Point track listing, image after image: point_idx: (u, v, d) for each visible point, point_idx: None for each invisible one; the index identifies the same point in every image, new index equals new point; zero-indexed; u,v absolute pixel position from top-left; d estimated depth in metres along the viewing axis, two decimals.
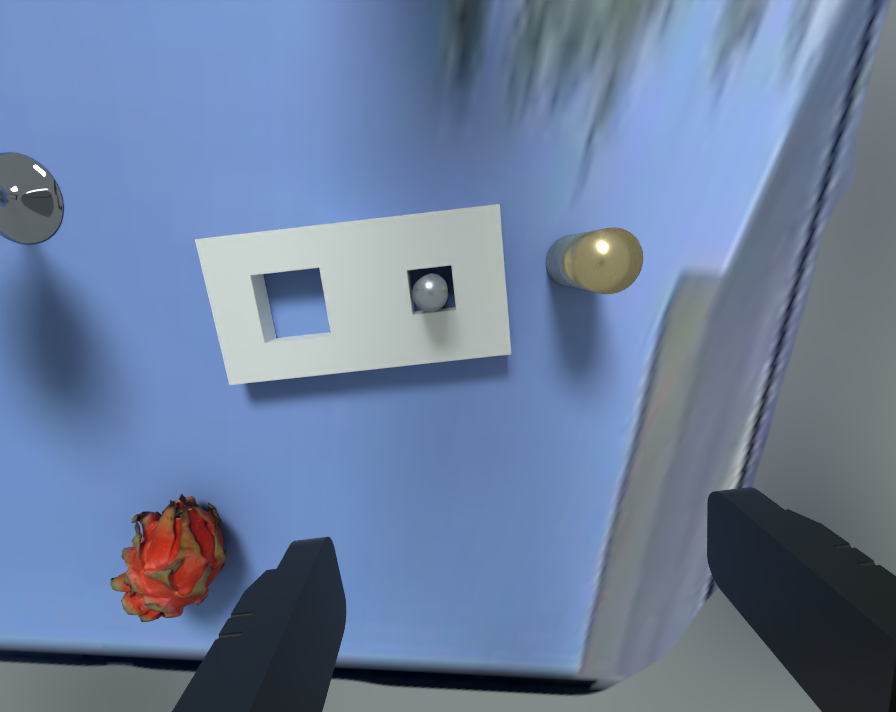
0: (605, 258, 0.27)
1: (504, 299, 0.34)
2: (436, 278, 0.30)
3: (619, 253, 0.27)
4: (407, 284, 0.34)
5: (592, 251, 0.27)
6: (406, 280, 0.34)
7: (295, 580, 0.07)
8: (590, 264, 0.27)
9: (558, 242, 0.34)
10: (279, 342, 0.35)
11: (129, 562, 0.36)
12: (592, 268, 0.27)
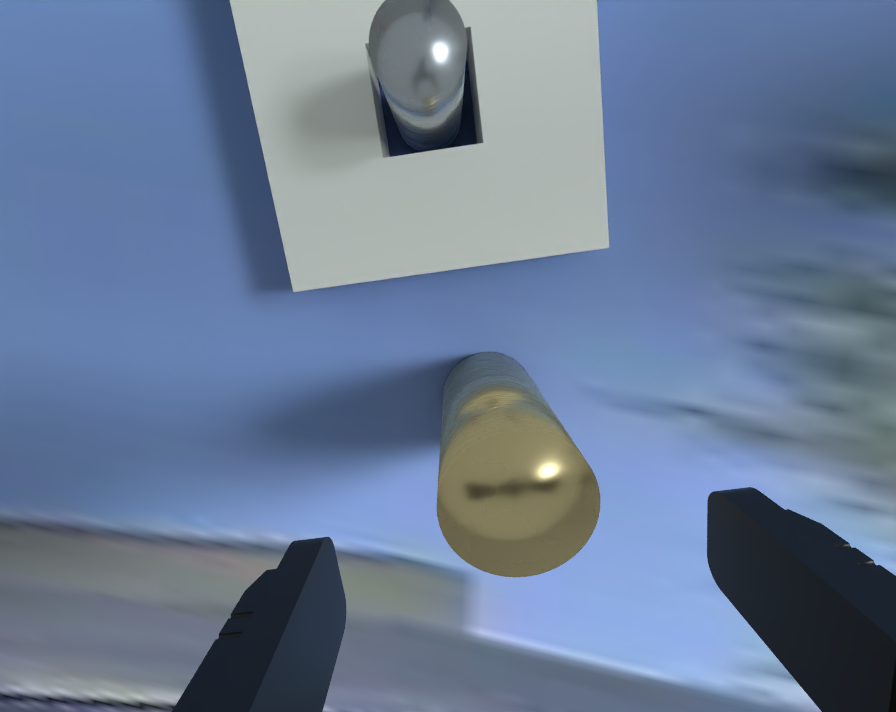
0: (526, 495, 0.11)
1: (411, 269, 0.16)
2: (459, 63, 0.11)
3: (537, 525, 0.11)
4: None
5: (544, 462, 0.11)
6: None
7: (295, 580, 0.07)
8: (511, 461, 0.11)
9: (525, 372, 0.18)
10: None
11: None
12: (500, 467, 0.11)
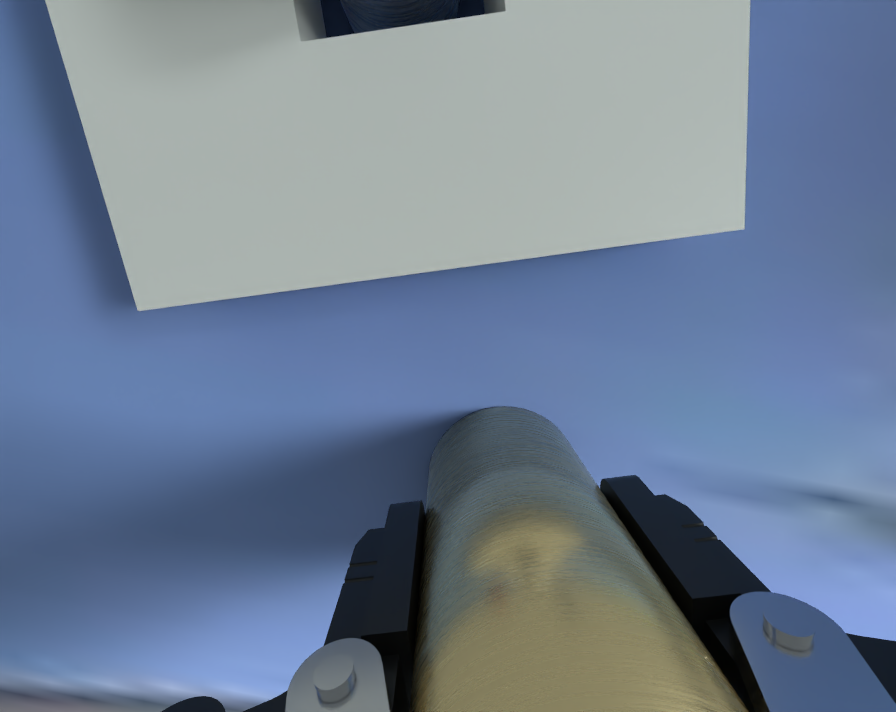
0: None
1: (364, 269, 0.08)
2: None
3: None
4: None
5: None
6: None
7: (406, 534, 0.08)
8: None
9: (571, 449, 0.10)
10: None
11: None
12: None
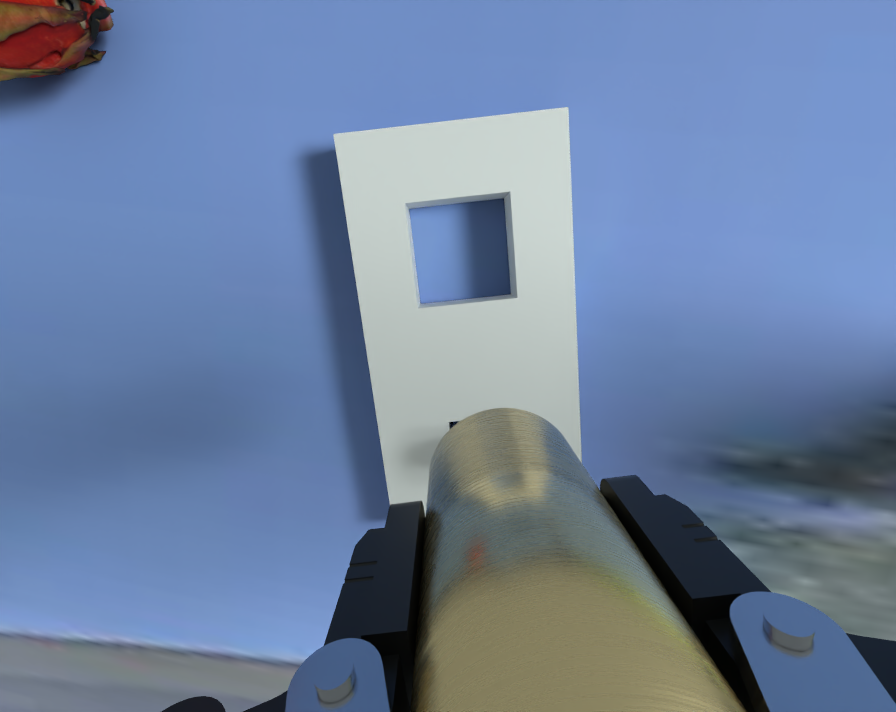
0: None
1: None
2: None
3: None
4: None
5: None
6: None
7: (406, 534, 0.08)
8: None
9: (571, 451, 0.10)
10: (406, 227, 0.23)
11: None
12: None
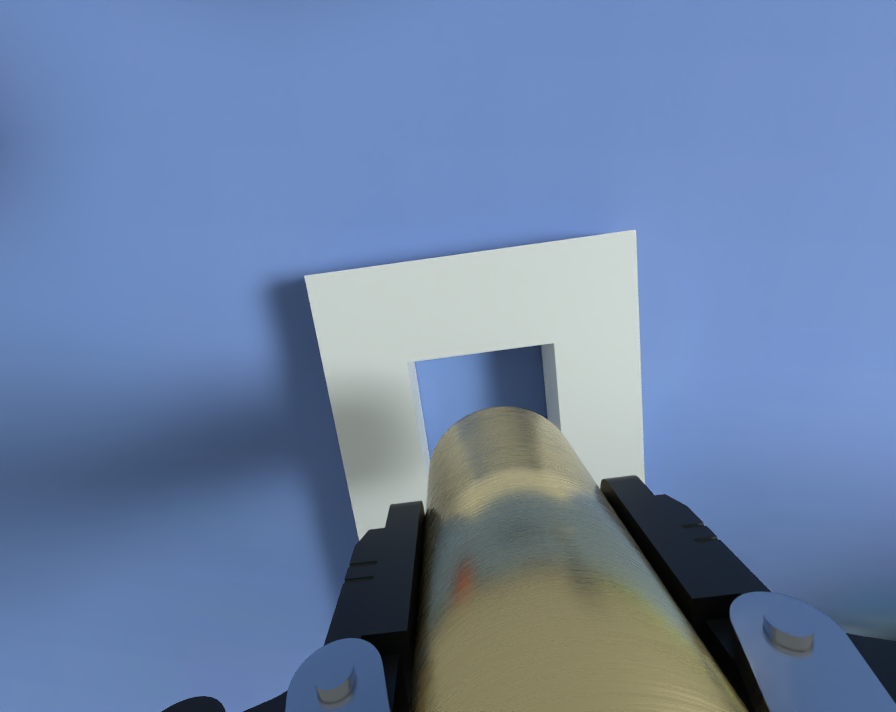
0: None
1: None
2: None
3: None
4: None
5: None
6: None
7: (406, 534, 0.08)
8: None
9: (571, 449, 0.10)
10: (410, 392, 0.16)
11: None
12: None
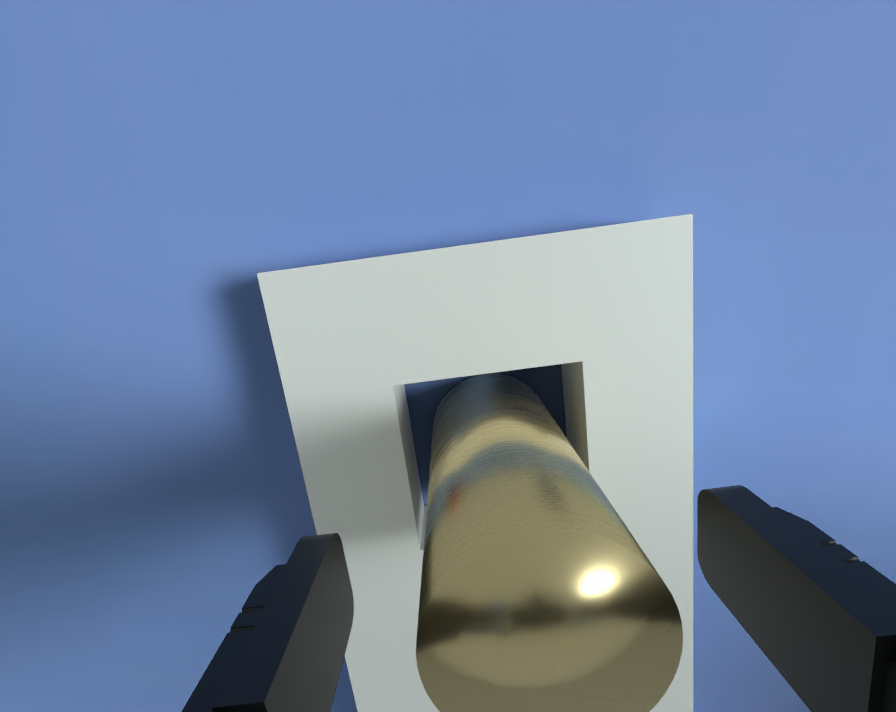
0: (562, 634, 0.07)
1: None
2: None
3: (579, 680, 0.07)
4: None
5: (595, 582, 0.06)
6: None
7: (305, 575, 0.07)
8: (539, 582, 0.06)
9: (540, 402, 0.14)
10: (397, 423, 0.13)
11: None
12: (522, 591, 0.06)
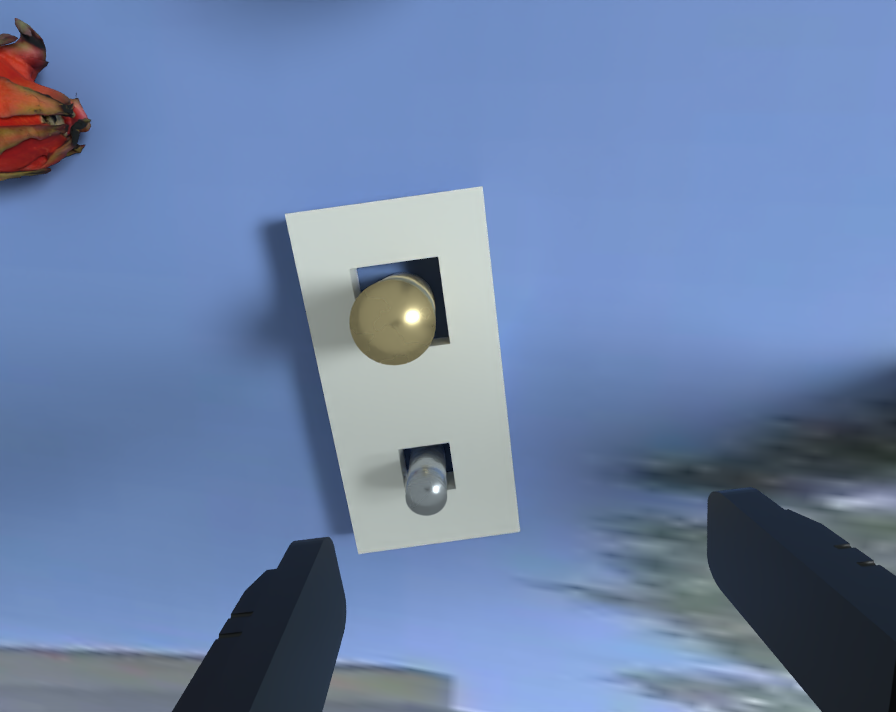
0: (396, 316, 0.20)
1: (420, 543, 0.31)
2: (444, 503, 0.26)
3: (403, 334, 0.21)
4: (433, 443, 0.29)
5: (404, 297, 0.20)
6: (437, 442, 0.29)
7: (295, 580, 0.07)
8: (387, 297, 0.20)
9: (424, 281, 0.27)
10: (351, 288, 0.27)
11: None
12: (382, 300, 0.20)
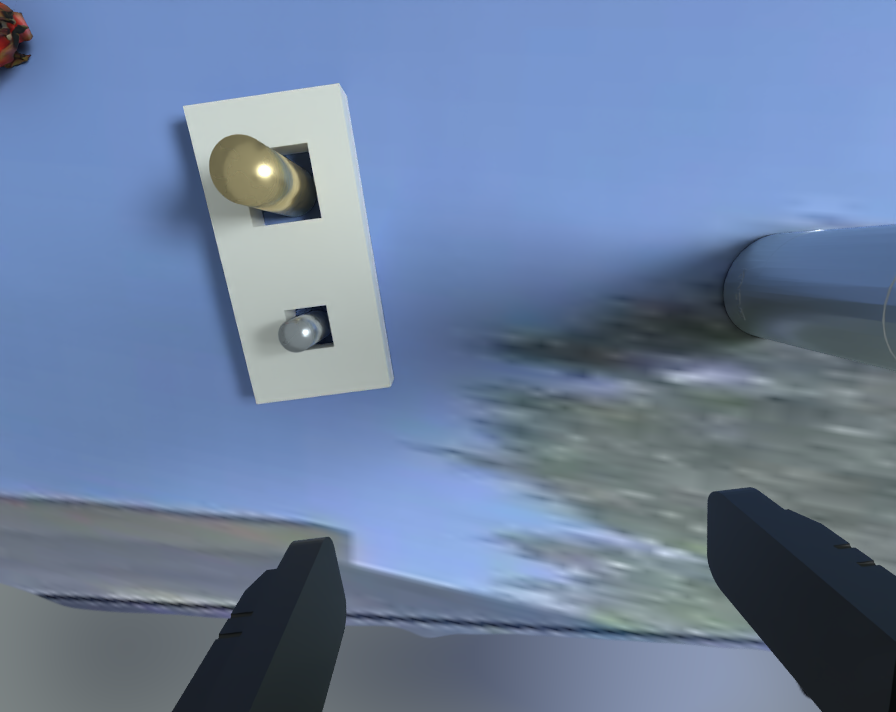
0: (244, 164, 0.27)
1: (307, 395, 0.37)
2: (310, 341, 0.32)
3: (251, 179, 0.27)
4: (312, 305, 0.35)
5: (250, 148, 0.27)
6: (316, 304, 0.35)
7: (295, 580, 0.07)
8: (236, 148, 0.27)
9: (301, 167, 0.34)
10: None
11: None
12: (232, 151, 0.27)
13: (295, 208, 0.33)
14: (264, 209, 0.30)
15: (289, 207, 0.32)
